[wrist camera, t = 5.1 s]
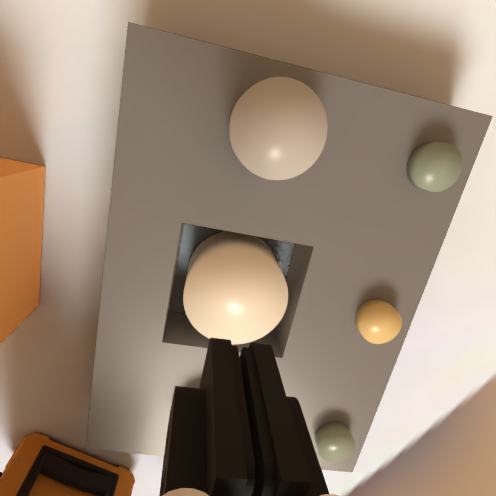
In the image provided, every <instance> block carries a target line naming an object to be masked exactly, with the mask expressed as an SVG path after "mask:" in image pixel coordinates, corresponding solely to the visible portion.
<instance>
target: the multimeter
mask: <svg viewBox="0 0 496 496" xmlns="http://www.w3.org/2000/svg"><path fill="white" fill-rule="evenodd" d="M49 439H50V437H48V436H45V435H42V434H39V433H32V434H30V435H27V436H25V437H24V439H23V440H22V442H21V443H20V445H19V446H18V448H17V449H16V451H15V452H14V454H13V455H12V457H11V458H10V460H9V462H8V463H7V465H6V467H5V470H4V472H3V473H2V472H0V496H131V493H132V489H133V485H134V482H135V479H134V476H133V474H132V473H131V472H130V471H129V470H127V469H125V468H123V467H121V466H118V467H115V466H113V465H110V464H108V463H105V462H103V461H100V460H98V459H95V458H93V457H90V456H88V455H86V454H83V453H81V452H78V451H76V450H73V449H71V448H68V447H66V446H63V445H61V444H58V443H56V442H53V441H51V440H49Z"/></svg>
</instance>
